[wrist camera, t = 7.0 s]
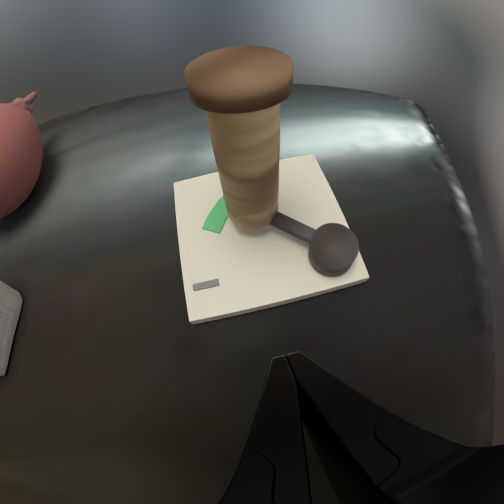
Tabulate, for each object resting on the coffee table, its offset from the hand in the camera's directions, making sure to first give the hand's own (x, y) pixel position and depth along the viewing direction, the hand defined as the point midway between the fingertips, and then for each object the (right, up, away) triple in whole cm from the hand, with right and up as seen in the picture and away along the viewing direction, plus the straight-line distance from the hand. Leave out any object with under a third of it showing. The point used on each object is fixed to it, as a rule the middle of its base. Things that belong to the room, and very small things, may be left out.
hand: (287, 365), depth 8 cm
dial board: (0, +5, +16) cm, 17 cm away
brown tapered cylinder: (+2, +5, +15) cm, 15 cm away
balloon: (-34, +14, +23) cm, 43 cm away
